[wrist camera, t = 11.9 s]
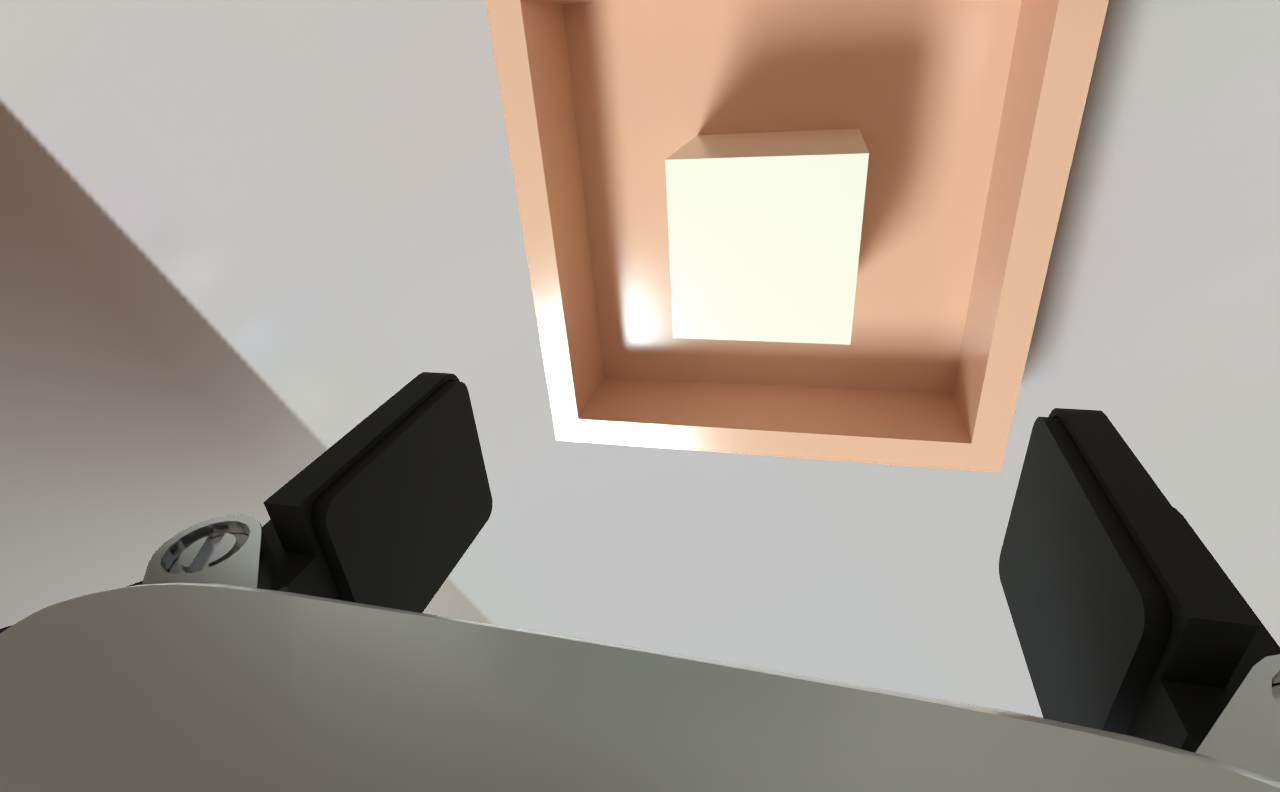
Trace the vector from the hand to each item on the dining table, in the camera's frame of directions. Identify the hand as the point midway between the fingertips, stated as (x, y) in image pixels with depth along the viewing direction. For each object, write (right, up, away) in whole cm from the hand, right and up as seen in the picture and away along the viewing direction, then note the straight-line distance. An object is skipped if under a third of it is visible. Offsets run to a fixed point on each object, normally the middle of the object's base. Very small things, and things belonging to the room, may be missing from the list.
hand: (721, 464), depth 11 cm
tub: (+4, +9, +16) cm, 18 cm away
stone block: (+4, +8, +15) cm, 18 cm away
